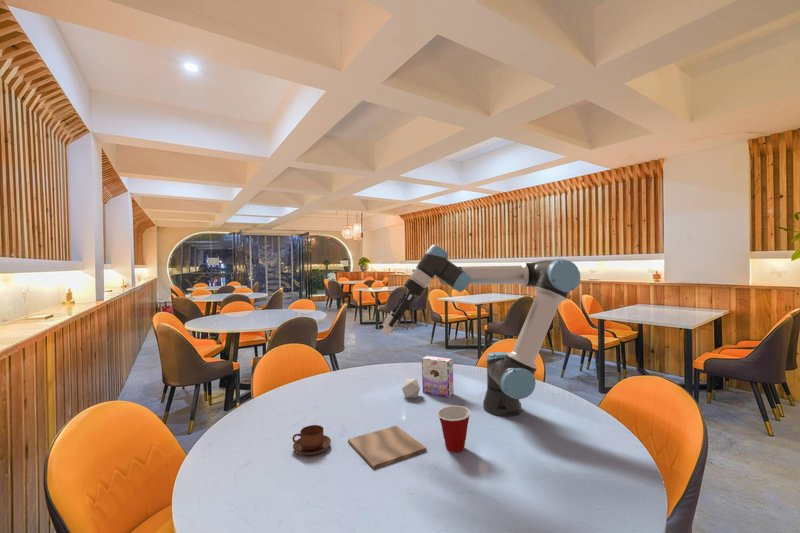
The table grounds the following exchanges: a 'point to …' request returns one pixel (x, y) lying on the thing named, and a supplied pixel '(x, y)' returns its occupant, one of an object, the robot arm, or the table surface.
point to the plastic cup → (454, 426)
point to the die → (410, 388)
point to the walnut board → (386, 446)
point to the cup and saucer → (311, 440)
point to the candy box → (437, 376)
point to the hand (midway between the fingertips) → (384, 330)
